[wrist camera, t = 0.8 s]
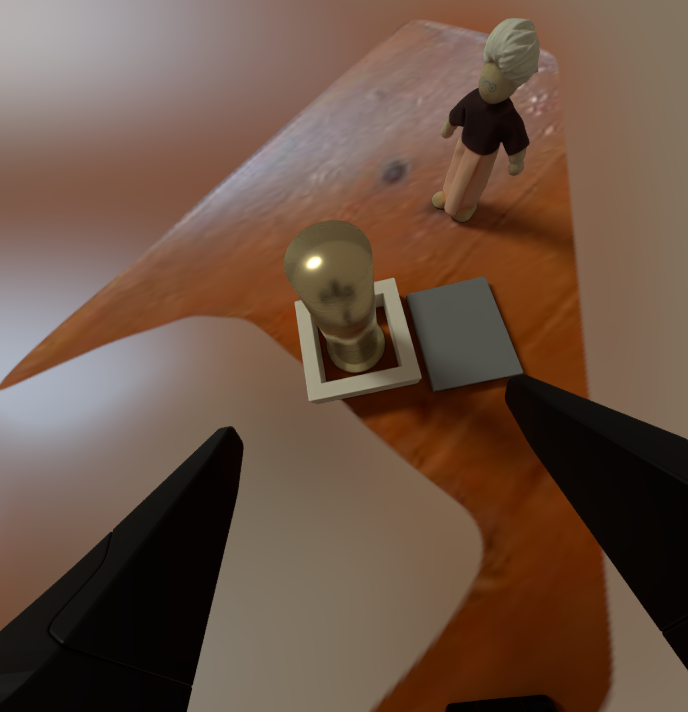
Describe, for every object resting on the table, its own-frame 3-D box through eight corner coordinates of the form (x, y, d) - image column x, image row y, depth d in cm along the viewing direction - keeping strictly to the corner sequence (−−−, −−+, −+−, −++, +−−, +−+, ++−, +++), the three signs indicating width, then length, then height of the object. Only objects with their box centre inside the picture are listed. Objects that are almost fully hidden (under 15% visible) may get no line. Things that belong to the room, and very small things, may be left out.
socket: (417, 383, 22) (421, 377, 20) (316, 404, 23) (308, 401, 21) (392, 292, 25) (394, 277, 22) (302, 313, 26) (294, 301, 23)
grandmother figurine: (415, 206, 27) (440, 28, 15) (435, 180, 28) (476, -12, 16) (483, 238, 25) (576, 60, 13) (504, 209, 26) (613, 12, 13)
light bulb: (390, 366, 23) (398, 294, 11) (333, 379, 23) (277, 323, 11) (377, 314, 25) (371, 197, 12) (324, 326, 25) (266, 226, 13)
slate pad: (518, 374, 21) (523, 372, 20) (432, 392, 22) (434, 390, 21) (481, 280, 24) (484, 276, 23) (406, 298, 25) (406, 294, 24)
